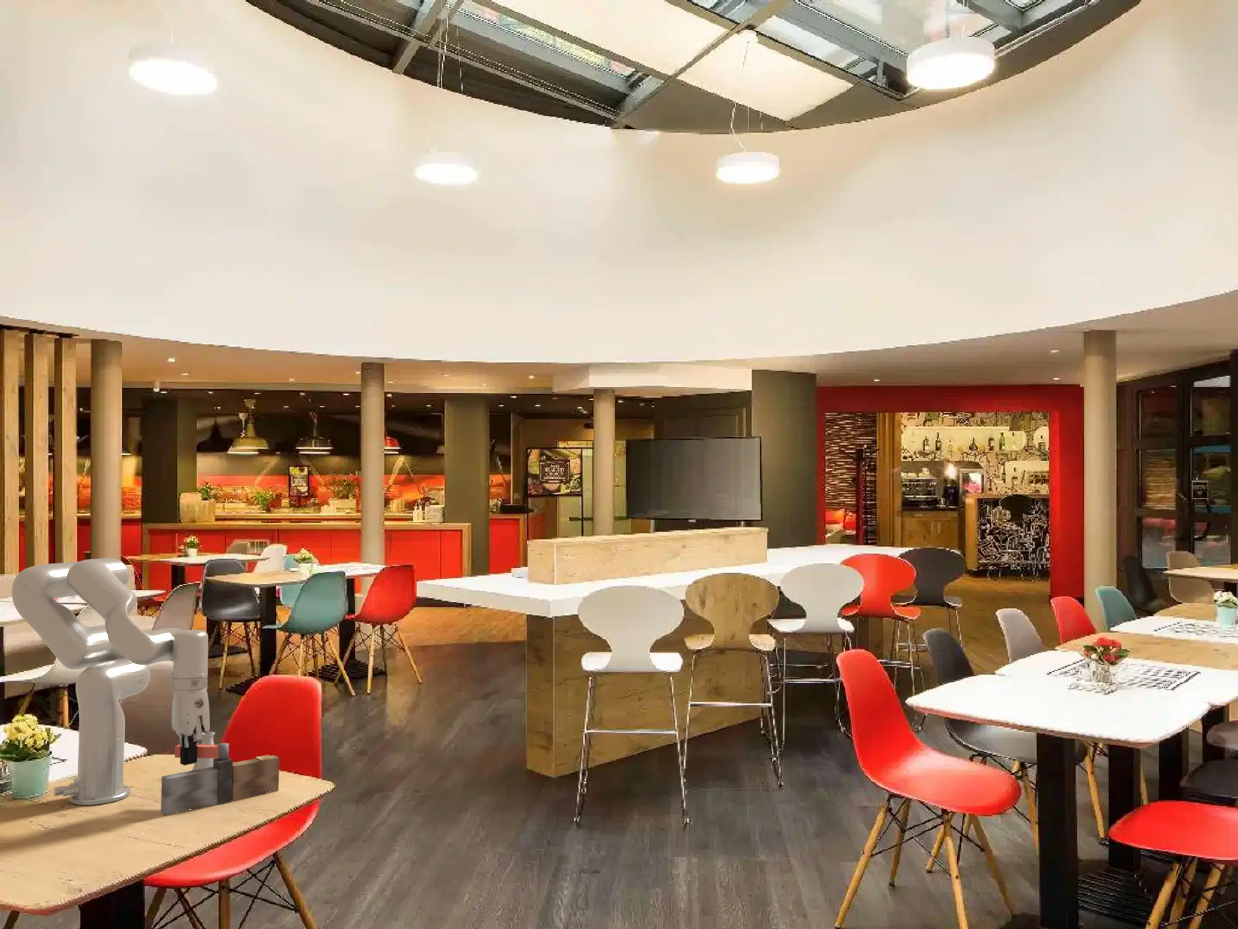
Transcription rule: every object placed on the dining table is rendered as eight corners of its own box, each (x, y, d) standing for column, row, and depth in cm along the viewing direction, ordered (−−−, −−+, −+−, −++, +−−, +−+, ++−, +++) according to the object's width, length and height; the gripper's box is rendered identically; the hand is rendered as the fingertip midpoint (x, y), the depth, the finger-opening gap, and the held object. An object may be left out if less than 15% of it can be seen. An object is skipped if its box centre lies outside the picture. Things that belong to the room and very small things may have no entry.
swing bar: (230, 756, 216) (230, 743, 216) (225, 759, 214) (226, 745, 214) (179, 755, 217) (179, 742, 217) (174, 758, 214) (174, 745, 214)
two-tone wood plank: (166, 816, 204) (167, 772, 205) (160, 811, 207) (161, 768, 208) (279, 791, 222) (280, 751, 223) (272, 787, 225) (273, 747, 226)
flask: (227, 768, 241) (228, 730, 241) (212, 776, 234) (213, 737, 234) (201, 767, 242) (202, 729, 242) (185, 775, 234) (186, 736, 235)
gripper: (220, 685, 211) (219, 766, 210) (191, 677, 221) (190, 754, 220) (188, 690, 205) (186, 773, 205) (159, 682, 215) (158, 761, 214)
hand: (188, 763), depth 212 cm, fingers closed
